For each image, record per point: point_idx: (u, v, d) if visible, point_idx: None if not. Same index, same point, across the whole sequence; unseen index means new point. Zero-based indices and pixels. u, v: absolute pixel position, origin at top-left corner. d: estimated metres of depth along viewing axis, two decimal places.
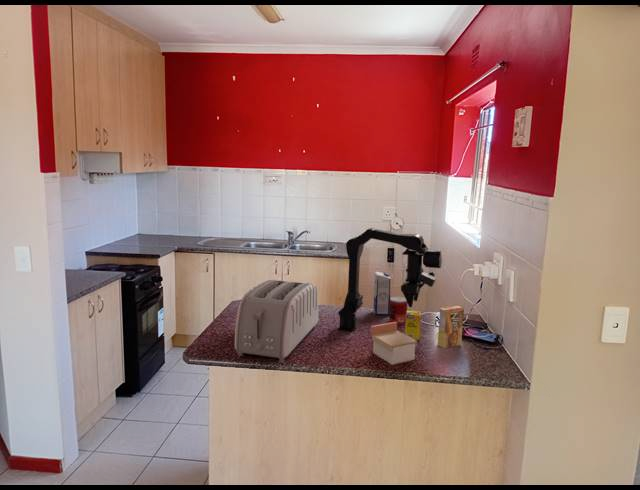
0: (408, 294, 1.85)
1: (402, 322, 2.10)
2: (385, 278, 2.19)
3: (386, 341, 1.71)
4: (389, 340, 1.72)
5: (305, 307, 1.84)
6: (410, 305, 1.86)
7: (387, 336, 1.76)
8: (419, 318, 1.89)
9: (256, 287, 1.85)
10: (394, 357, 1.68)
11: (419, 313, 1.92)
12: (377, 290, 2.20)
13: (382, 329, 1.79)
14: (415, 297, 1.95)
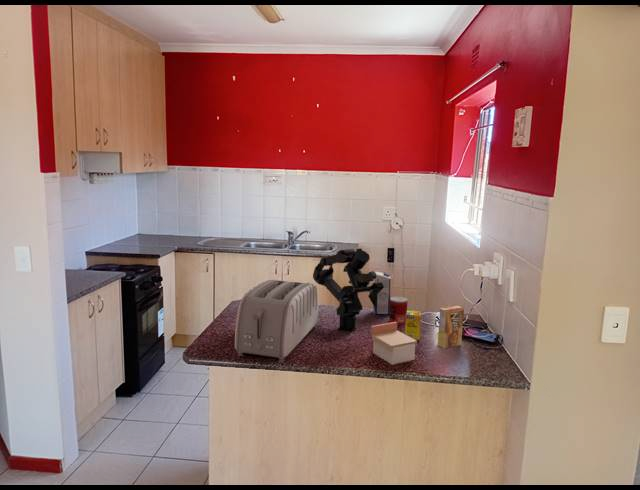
0: (353, 299, 1.89)
1: (402, 322, 2.10)
2: (385, 278, 2.19)
3: (386, 341, 1.71)
4: (389, 340, 1.72)
5: (305, 307, 1.84)
6: (360, 308, 1.87)
7: (387, 336, 1.76)
8: (419, 318, 1.89)
9: (256, 287, 1.85)
10: (394, 357, 1.68)
11: (419, 313, 1.92)
12: None
13: (382, 329, 1.79)
14: (374, 304, 1.91)
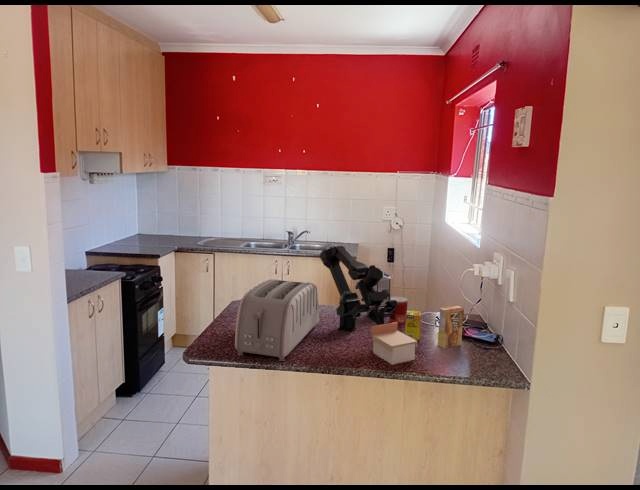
0: (374, 317, 1.83)
1: (402, 322, 2.10)
2: (385, 278, 2.19)
3: (386, 341, 1.71)
4: (389, 340, 1.71)
5: (305, 306, 1.85)
6: None
7: (387, 336, 1.76)
8: (419, 318, 1.89)
9: (257, 286, 1.86)
10: (394, 357, 1.68)
11: (419, 313, 1.92)
12: (377, 290, 2.20)
13: (383, 329, 1.79)
14: None
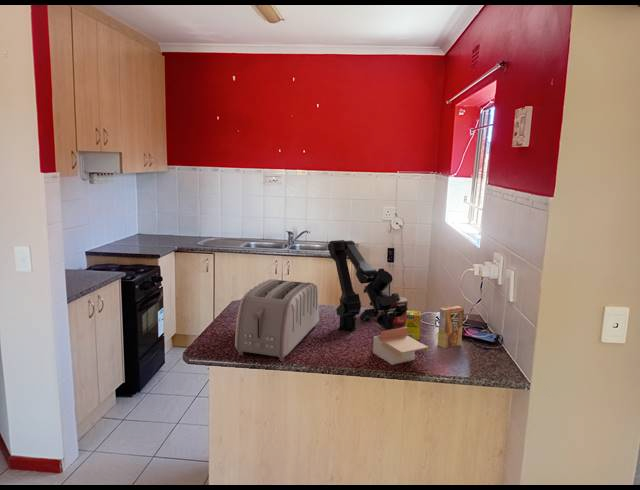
0: (383, 321, 1.78)
1: (402, 322, 2.10)
2: None
3: (396, 347, 1.65)
4: (399, 346, 1.66)
5: (305, 306, 1.85)
6: None
7: (397, 342, 1.70)
8: (419, 318, 1.89)
9: (257, 286, 1.86)
10: (394, 357, 1.68)
11: (419, 313, 1.92)
12: None
13: (392, 334, 1.74)
14: None
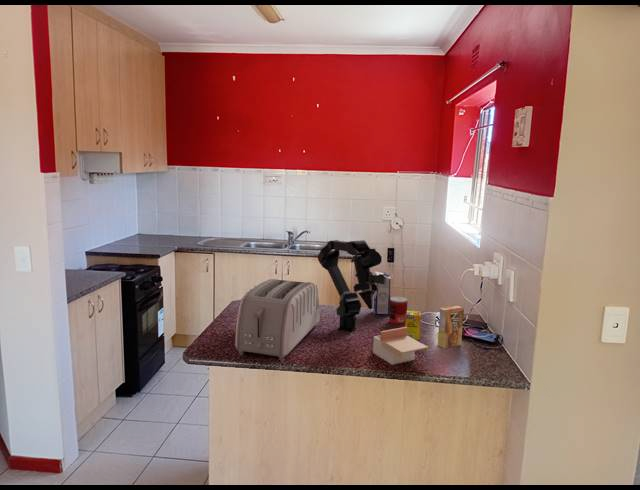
0: (365, 296, 1.88)
1: (402, 322, 2.10)
2: None
3: (396, 347, 1.65)
4: (399, 346, 1.66)
5: (306, 306, 1.85)
6: (370, 307, 1.88)
7: (397, 342, 1.70)
8: (419, 318, 1.89)
9: (257, 286, 1.86)
10: (394, 357, 1.68)
11: (419, 313, 1.92)
12: (377, 290, 2.20)
13: (392, 334, 1.74)
14: None
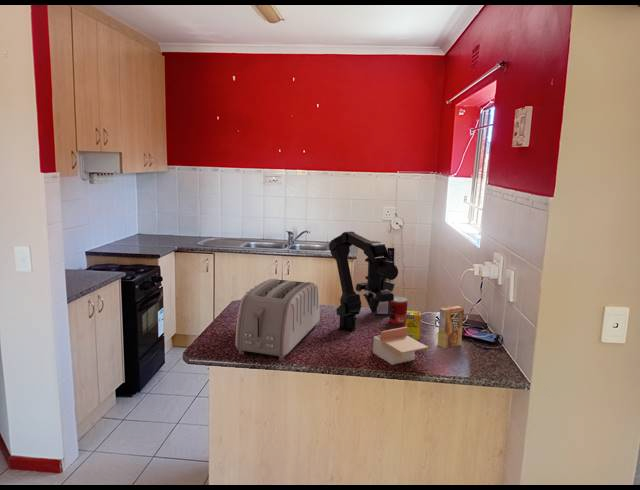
0: (374, 300, 1.86)
1: (402, 322, 2.10)
2: None
3: (396, 347, 1.65)
4: (399, 346, 1.66)
5: (306, 306, 1.86)
6: (374, 311, 1.87)
7: (397, 342, 1.70)
8: (419, 318, 1.89)
9: (257, 286, 1.87)
10: (394, 357, 1.68)
11: (419, 313, 1.92)
12: None
13: (392, 334, 1.74)
14: None
